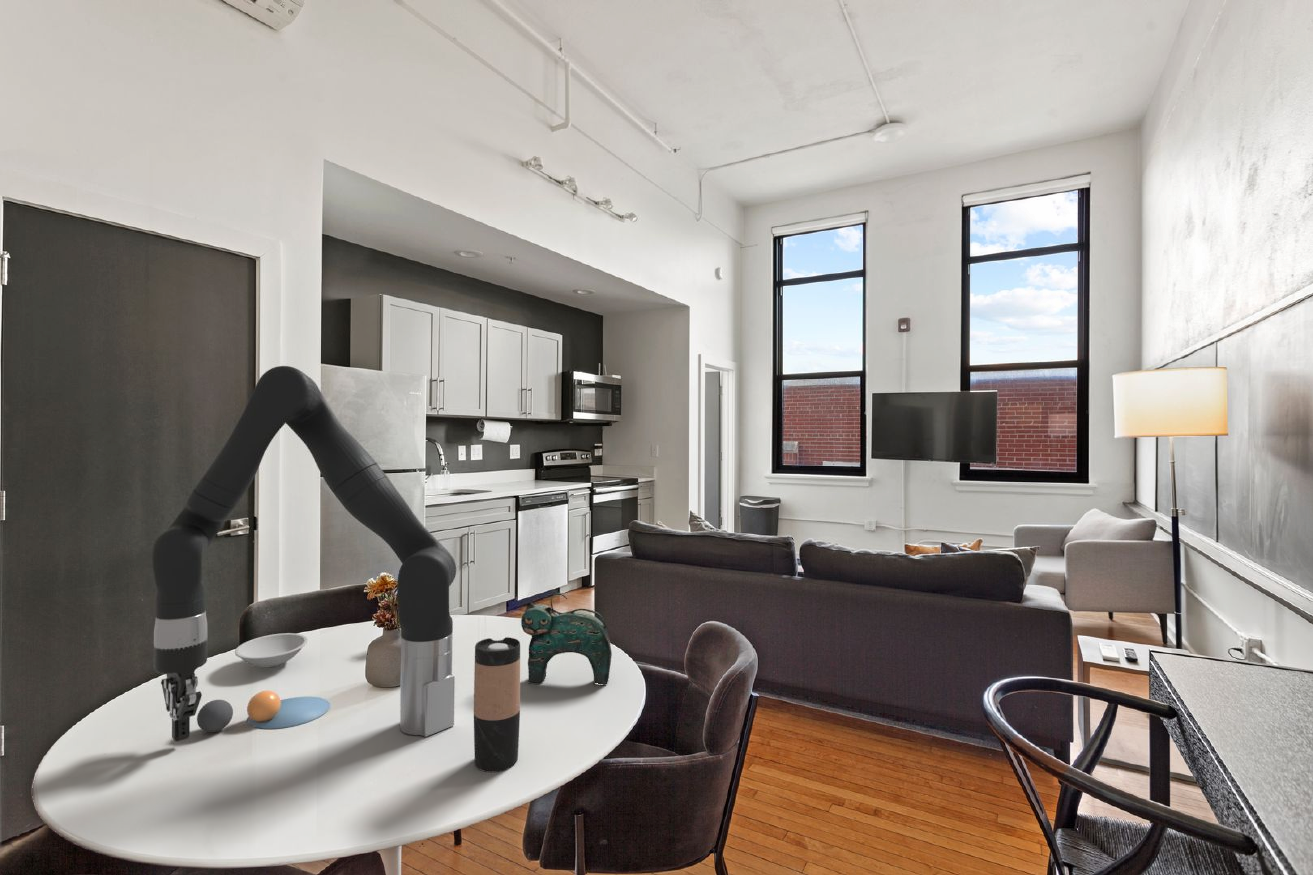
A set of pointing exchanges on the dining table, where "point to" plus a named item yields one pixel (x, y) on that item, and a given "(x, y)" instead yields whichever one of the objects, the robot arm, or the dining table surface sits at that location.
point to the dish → (271, 649)
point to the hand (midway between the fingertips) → (180, 738)
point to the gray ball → (214, 715)
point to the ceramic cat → (565, 639)
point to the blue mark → (295, 712)
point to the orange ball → (263, 706)
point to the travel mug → (496, 703)
